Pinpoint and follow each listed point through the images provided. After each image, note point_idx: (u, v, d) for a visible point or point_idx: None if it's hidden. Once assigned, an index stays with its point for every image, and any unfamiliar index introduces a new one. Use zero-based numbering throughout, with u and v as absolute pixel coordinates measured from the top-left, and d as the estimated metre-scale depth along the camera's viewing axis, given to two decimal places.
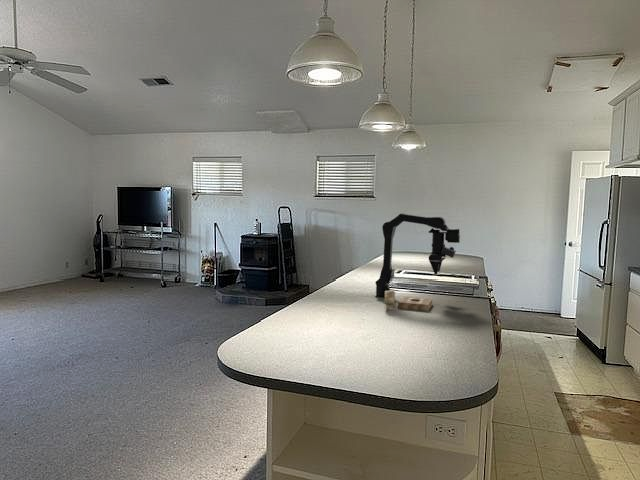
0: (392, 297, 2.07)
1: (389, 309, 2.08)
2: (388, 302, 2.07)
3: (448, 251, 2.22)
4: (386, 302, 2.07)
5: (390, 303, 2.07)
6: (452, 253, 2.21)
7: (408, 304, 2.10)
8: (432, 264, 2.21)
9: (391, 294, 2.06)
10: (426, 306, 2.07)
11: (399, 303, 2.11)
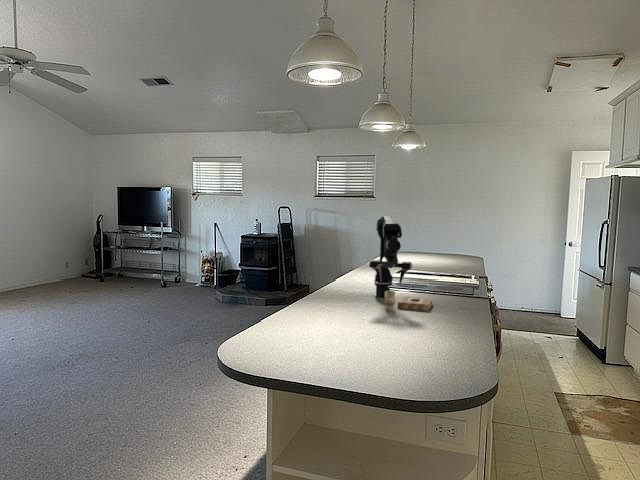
0: (392, 297, 2.07)
1: (389, 309, 2.08)
2: (388, 302, 2.07)
3: None
4: (386, 302, 2.07)
5: (390, 303, 2.07)
6: (382, 262, 2.01)
7: (408, 304, 2.10)
8: None
9: (391, 294, 2.06)
10: (426, 306, 2.07)
11: (399, 303, 2.11)
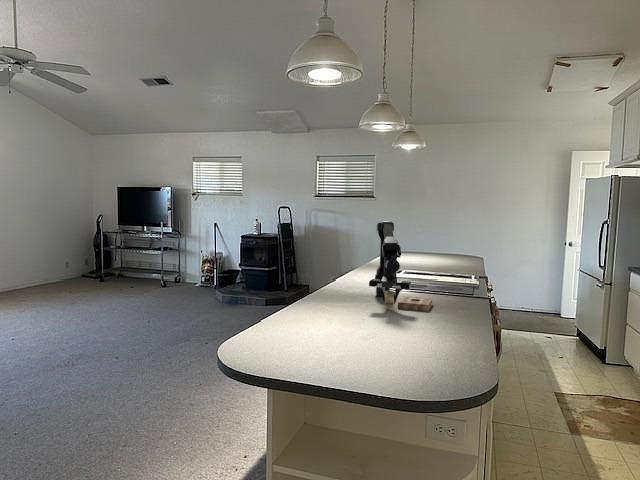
0: (392, 297, 2.07)
1: (389, 309, 2.08)
2: (388, 302, 2.07)
3: None
4: (386, 302, 2.07)
5: (390, 303, 2.07)
6: (381, 282, 2.02)
7: (408, 304, 2.10)
8: None
9: (391, 294, 2.06)
10: (426, 306, 2.07)
11: (399, 303, 2.11)
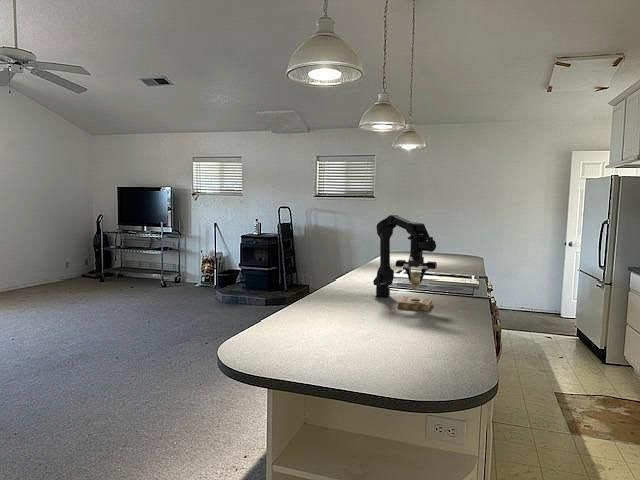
0: (418, 277, 2.12)
1: (415, 289, 2.14)
2: (414, 282, 2.13)
3: None
4: (412, 282, 2.13)
5: (416, 283, 2.13)
6: (408, 262, 2.08)
7: (408, 304, 2.10)
8: None
9: (417, 274, 2.12)
10: (426, 306, 2.07)
11: (399, 303, 2.11)
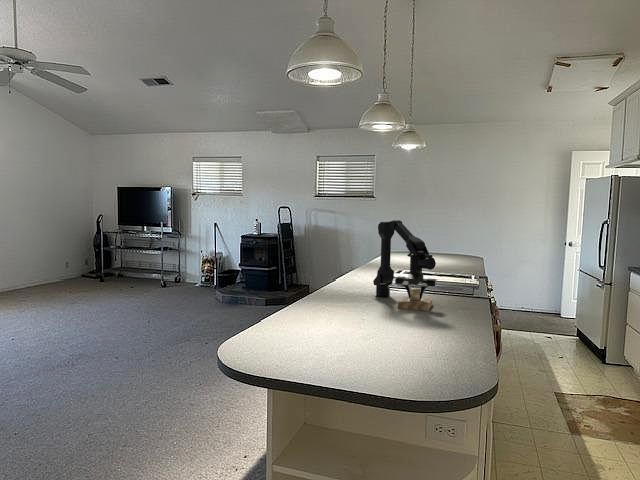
0: (418, 294, 2.13)
1: None
2: (414, 299, 2.13)
3: None
4: (412, 299, 2.14)
5: (416, 300, 2.13)
6: (408, 279, 2.09)
7: (408, 304, 2.10)
8: None
9: (417, 291, 2.13)
10: (426, 306, 2.07)
11: (399, 303, 2.11)
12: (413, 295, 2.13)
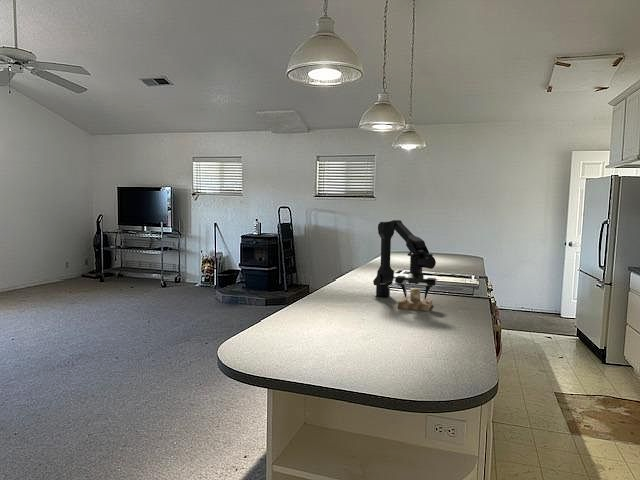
0: (418, 294, 2.13)
1: None
2: (414, 299, 2.13)
3: (408, 276, 2.10)
4: (412, 299, 2.14)
5: (416, 300, 2.13)
6: (408, 278, 2.09)
7: (408, 304, 2.10)
8: None
9: (417, 291, 2.13)
10: (426, 306, 2.07)
11: (399, 303, 2.11)
12: (413, 295, 2.13)
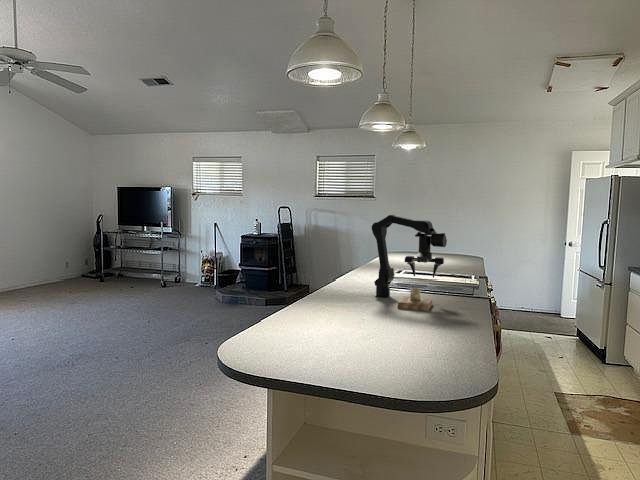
0: (418, 294, 2.13)
1: None
2: (414, 299, 2.13)
3: (417, 255, 2.20)
4: (412, 299, 2.14)
5: (416, 300, 2.13)
6: (417, 257, 2.18)
7: (408, 304, 2.10)
8: None
9: (417, 291, 2.13)
10: (426, 306, 2.07)
11: (399, 303, 2.11)
12: (413, 295, 2.13)
